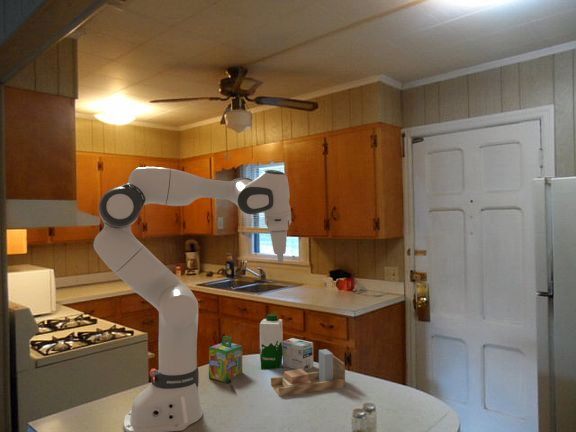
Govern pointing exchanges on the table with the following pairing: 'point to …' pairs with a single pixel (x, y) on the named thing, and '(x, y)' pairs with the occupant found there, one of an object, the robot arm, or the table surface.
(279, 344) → the milk carton
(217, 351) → the chalk box
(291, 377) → the offcut top
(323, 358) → the tall board
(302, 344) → the light bulb box
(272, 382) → the rack
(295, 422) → the table surface
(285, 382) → the offcut low
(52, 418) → the table surface
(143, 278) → the robot arm
